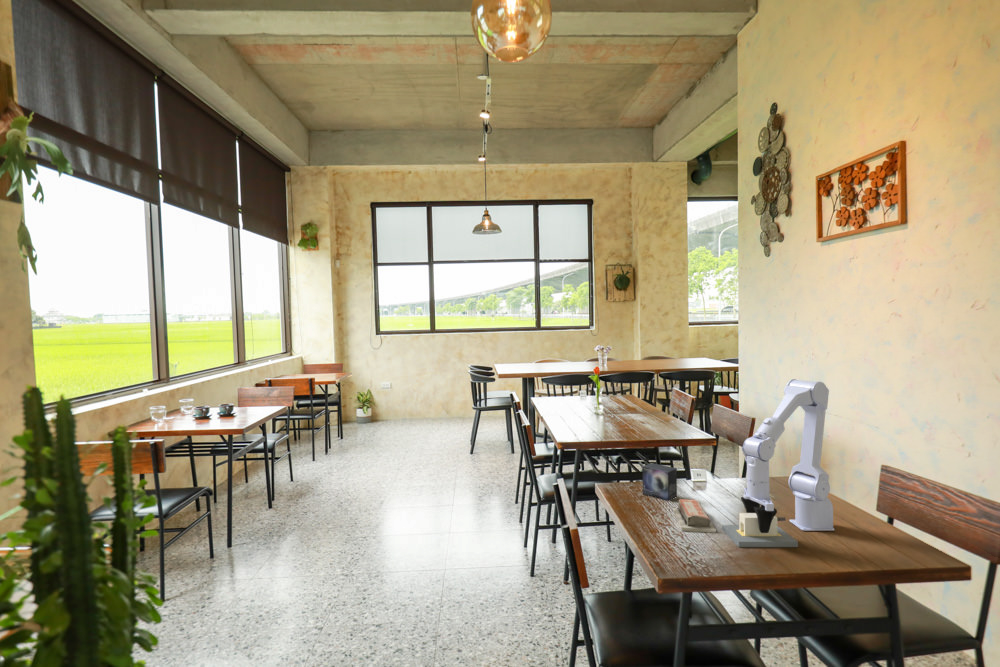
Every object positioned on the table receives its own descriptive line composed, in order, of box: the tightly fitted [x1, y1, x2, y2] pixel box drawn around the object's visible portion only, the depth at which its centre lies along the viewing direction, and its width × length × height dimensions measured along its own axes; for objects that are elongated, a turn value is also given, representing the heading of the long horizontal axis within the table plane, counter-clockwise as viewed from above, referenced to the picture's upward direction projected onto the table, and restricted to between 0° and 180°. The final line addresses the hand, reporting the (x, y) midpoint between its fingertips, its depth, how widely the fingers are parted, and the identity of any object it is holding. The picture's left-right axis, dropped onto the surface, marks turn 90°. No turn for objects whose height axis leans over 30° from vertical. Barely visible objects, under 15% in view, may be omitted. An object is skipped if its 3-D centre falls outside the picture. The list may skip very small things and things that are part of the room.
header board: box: [721, 524, 799, 548], centre depth 152 cm, size 16×12×4 cm
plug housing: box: [738, 512, 786, 535], centre depth 152 cm, size 12×4×5 cm, turn 88°
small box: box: [642, 462, 678, 502], centre depth 191 cm, size 11×6×10 cm, turn 43°
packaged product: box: [672, 498, 717, 533], centre depth 166 cm, size 18×5×10 cm
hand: (758, 527), depth 152 cm, fingers open, 7 cm apart
